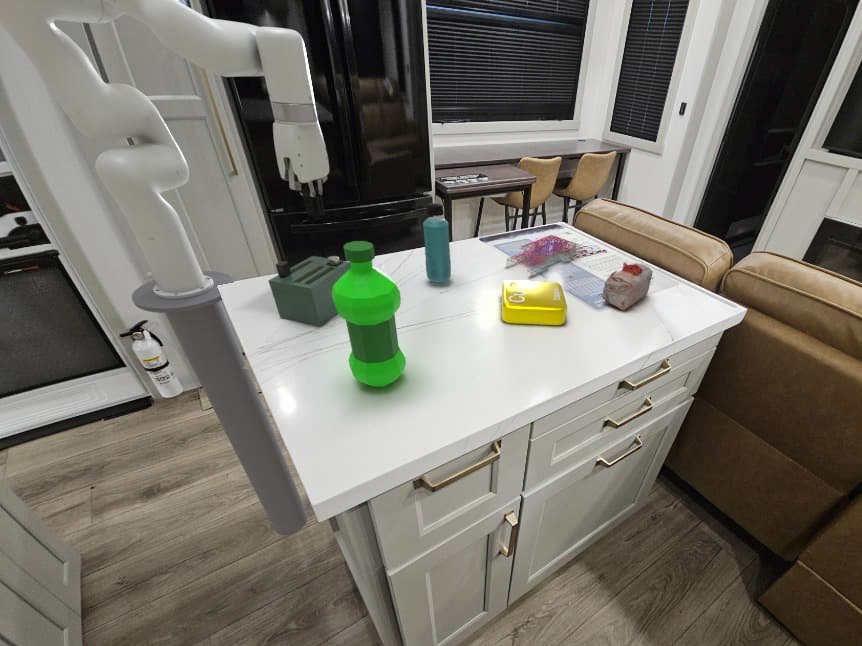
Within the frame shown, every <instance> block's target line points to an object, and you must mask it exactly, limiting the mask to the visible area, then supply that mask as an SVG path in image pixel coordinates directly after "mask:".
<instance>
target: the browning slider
mask: <svg viewBox="0 0 862 646" xmlns="http://www.w3.org/2000/svg"><path fill="white" fill-rule="evenodd" d="M275 268H276V271H277V275H279V276H284V277H286V276H287V275H289V274H291V270H290V268H291V266H290V263H289V261H284V260H281V261H279V262H277V263H275Z"/></svg>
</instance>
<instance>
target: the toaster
mask: <svg viewBox="0 0 862 646" xmlns="http://www.w3.org/2000/svg"><path fill="white" fill-rule="evenodd" d="M339 260H340V259H339ZM350 268H351V265H350V262H349V261H347V260H346V261H345V260H340V265H339V266H337V267H335V266H329V262H328V257H322V256H316V255H311V256H309V257H308V258H306V259H304V260H303V261H300V262H299V263H297V264H295V265H293V266H292V267H290V270H291V274H289V275H287V276H286V277H284V276H279V275H278V274H277V275H276V276H274V277H272V278H270V279H268V285H269V287H270V290H271V294H272V296H273V299H274V303H275V307H276V309H277V312H278V315H279V319H281V320H286V321H290V322H291V321H292V322H295V323H301V324H305V325H312V326H316V327H322V326H323V325H324V324H326V323H327V322H328V321H329V320H331V319H332V318H334V317H335V316H336V315H338V314H339V313H338V311H337V309H336V307H335V304H334V302H333V298H332V288H333V285H334V284H335V283H336V282H337V281H338V280H339V279H340V278H341V277H342V276H343V275H344V274H345V273H346V272H347V271H348V270H349V269H350Z"/></svg>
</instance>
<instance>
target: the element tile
mask: <svg viewBox="0 0 862 646" xmlns="http://www.w3.org/2000/svg"><path fill="white" fill-rule="evenodd" d="M565 297H566V296H565V295H564V289H563V286H562V285H561V284H560V283H558V282H552V281H533V280H532V281H531V280H512V279H505V280H504V281H503V282H502V286H501V319H502V321H503V322H505V323H506V324H507V323H508V324H515V325H516V324H517V325H518V324H520V325H536V326H537V325H538V326H539V325H540V326H561V325H563V324H565V322H566V317H567V311H568V306H567V301H566V298H565Z"/></svg>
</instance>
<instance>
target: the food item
mask: <svg viewBox="0 0 862 646" xmlns="http://www.w3.org/2000/svg"><path fill="white" fill-rule="evenodd" d="M653 273H654V271H653V270H652V269H651V268H650V267H648V266H647V265H645V264H642V263H637V262H635V263H633V264H627V262H626V261H624V262H623V265H622V269H621V270H619V271H618V270H615V271H613V272H611V274H610V275H609V276H608V277H607V279H606V280H605V281H604V286H603V289H602V294H601V296H602V299H603V301H605V302H606V303H608V304H610V305H611V306H613V307H615V308H617V309H619V310H621V311H626V310H627V309H628V308H630V307H631V306H633V305H634V304H635V303H637V302H638V301H640V300H641V299H642V298H644V297H646V296H647V295H648V292H649V290H650V285H651V281H652V278H653Z"/></svg>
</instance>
